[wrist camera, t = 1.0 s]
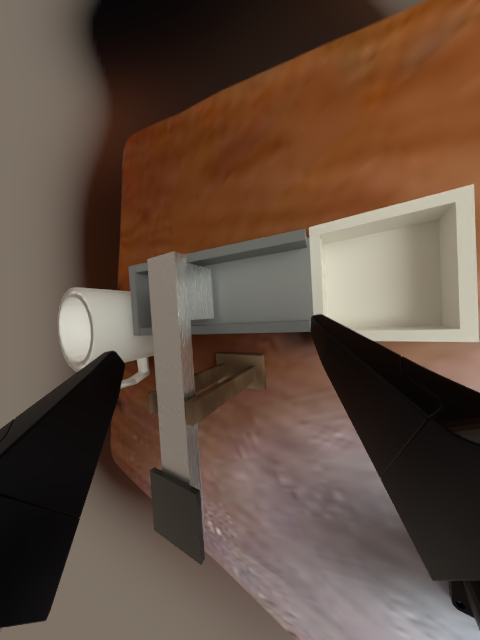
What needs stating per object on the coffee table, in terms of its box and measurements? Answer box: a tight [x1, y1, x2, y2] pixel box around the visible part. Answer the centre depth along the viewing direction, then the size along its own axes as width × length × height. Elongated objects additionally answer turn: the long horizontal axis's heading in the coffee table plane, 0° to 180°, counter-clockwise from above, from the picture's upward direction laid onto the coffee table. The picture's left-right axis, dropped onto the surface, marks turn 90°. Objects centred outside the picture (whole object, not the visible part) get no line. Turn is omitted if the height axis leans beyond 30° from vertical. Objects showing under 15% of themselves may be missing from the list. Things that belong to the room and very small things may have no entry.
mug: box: [57, 287, 154, 389], centre depth 28 cm, size 14×10×11 cm
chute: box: [129, 229, 314, 336], centre depth 21 cm, size 8×18×8 cm, turn 93°
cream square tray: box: [309, 184, 479, 342], centre depth 16 cm, size 10×10×4 cm
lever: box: [147, 251, 214, 564], centre depth 17 cm, size 22×5×6 cm, turn 3°
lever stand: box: [148, 352, 266, 426], centre depth 20 cm, size 4×6×11 cm, turn 93°
